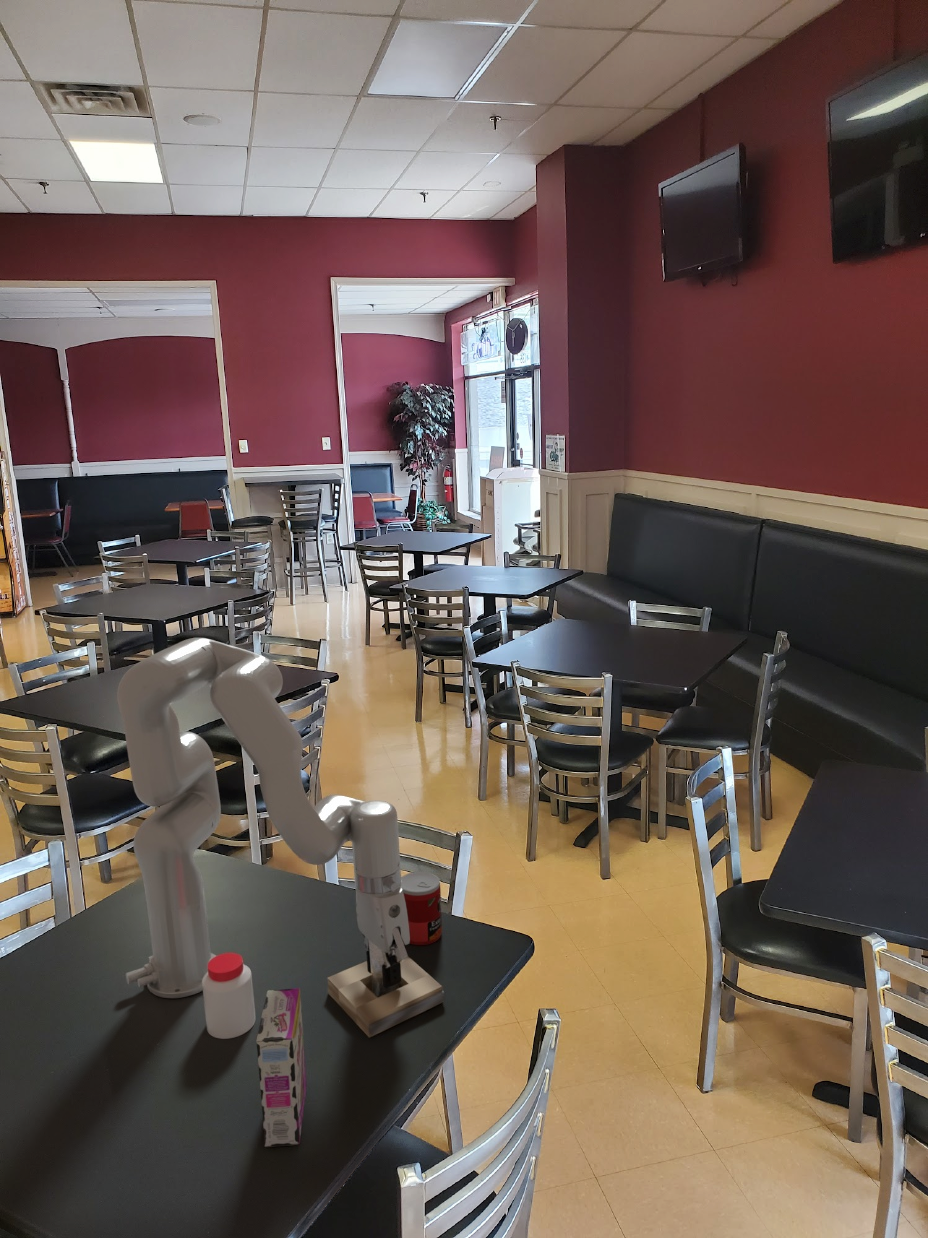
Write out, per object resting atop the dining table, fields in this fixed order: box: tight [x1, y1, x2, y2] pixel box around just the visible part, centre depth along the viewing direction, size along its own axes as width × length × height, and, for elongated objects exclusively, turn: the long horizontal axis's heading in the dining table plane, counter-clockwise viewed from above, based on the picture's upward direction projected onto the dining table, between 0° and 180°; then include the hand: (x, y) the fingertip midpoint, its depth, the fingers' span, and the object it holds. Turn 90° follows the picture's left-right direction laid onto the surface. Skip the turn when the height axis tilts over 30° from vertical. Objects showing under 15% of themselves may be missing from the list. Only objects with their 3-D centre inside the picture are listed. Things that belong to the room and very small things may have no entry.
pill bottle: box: [202, 952, 257, 1040], centre depth 142 cm, size 8×8×11 cm
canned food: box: [401, 871, 443, 946], centre depth 165 cm, size 8×8×11 cm
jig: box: [327, 956, 446, 1038], centre depth 147 cm, size 14×15×3 cm
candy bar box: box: [255, 987, 308, 1148], centre depth 121 cm, size 11×5×16 cm, turn 5°
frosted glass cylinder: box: [369, 940, 399, 998], centre depth 146 cm, size 4×4×10 cm
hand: (384, 976), depth 147 cm, fingers closed on frosted glass cylinder, 4 cm apart
